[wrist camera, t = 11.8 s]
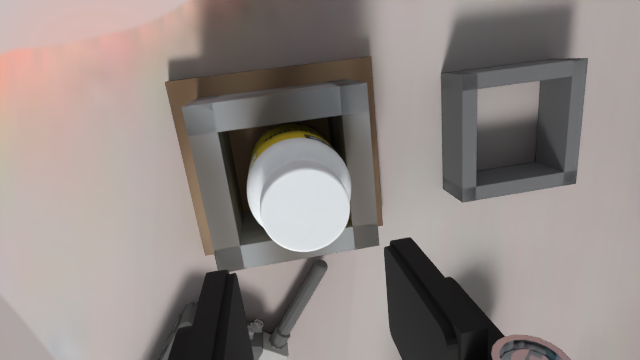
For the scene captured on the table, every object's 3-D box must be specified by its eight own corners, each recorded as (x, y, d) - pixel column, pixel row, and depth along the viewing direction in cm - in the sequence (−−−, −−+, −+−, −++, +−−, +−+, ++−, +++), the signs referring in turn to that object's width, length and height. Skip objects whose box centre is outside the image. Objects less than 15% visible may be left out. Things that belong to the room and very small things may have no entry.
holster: (554, 58, 28) (588, 58, 25) (546, 172, 30) (575, 183, 27) (441, 73, 27) (462, 74, 24) (443, 188, 29) (462, 202, 27)
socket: (366, 56, 26) (396, 55, 20) (378, 220, 29) (407, 257, 24) (168, 81, 24) (140, 86, 19) (206, 249, 28) (193, 296, 22)
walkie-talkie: (224, 442, 34) (333, 258, 30) (219, 495, 30) (344, 289, 26) (125, 416, 32) (229, 213, 28) (105, 470, 28) (224, 240, 24)
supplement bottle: (337, 126, 26) (378, 161, 16) (322, 202, 27) (354, 273, 18) (256, 113, 25) (252, 143, 15) (245, 192, 26) (236, 263, 17)
